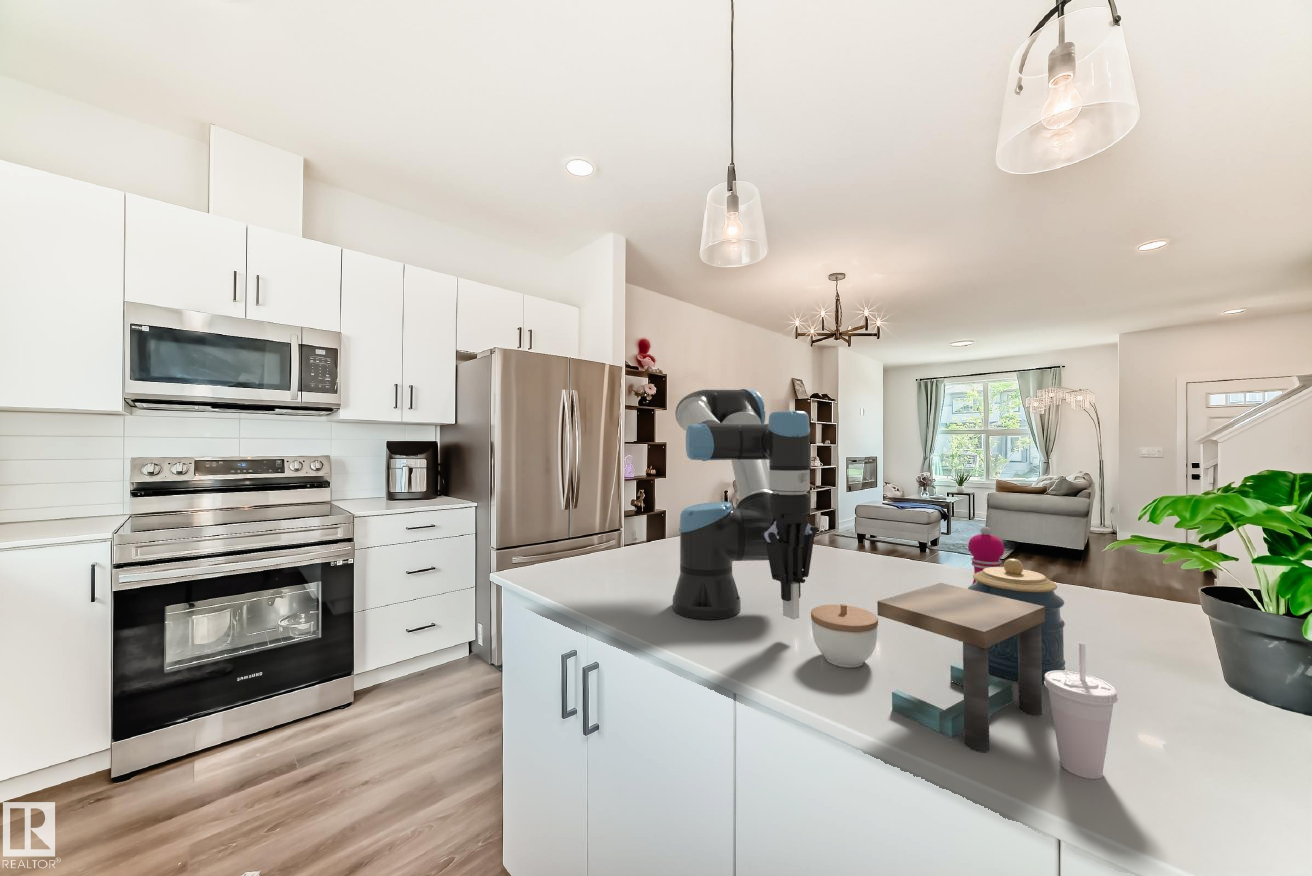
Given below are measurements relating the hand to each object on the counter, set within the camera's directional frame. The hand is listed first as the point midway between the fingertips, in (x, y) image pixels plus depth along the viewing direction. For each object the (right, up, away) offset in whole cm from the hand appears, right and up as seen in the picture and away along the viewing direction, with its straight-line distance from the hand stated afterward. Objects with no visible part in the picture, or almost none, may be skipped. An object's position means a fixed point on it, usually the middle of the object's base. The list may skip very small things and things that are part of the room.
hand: (791, 616), depth 96 cm
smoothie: (+22, -4, -39) cm, 45 cm away
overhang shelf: (+17, -4, -26) cm, 31 cm away
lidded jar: (+6, -4, -10) cm, 13 cm away
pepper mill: (+40, -4, +4) cm, 40 cm away
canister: (+33, -4, -13) cm, 36 cm away
